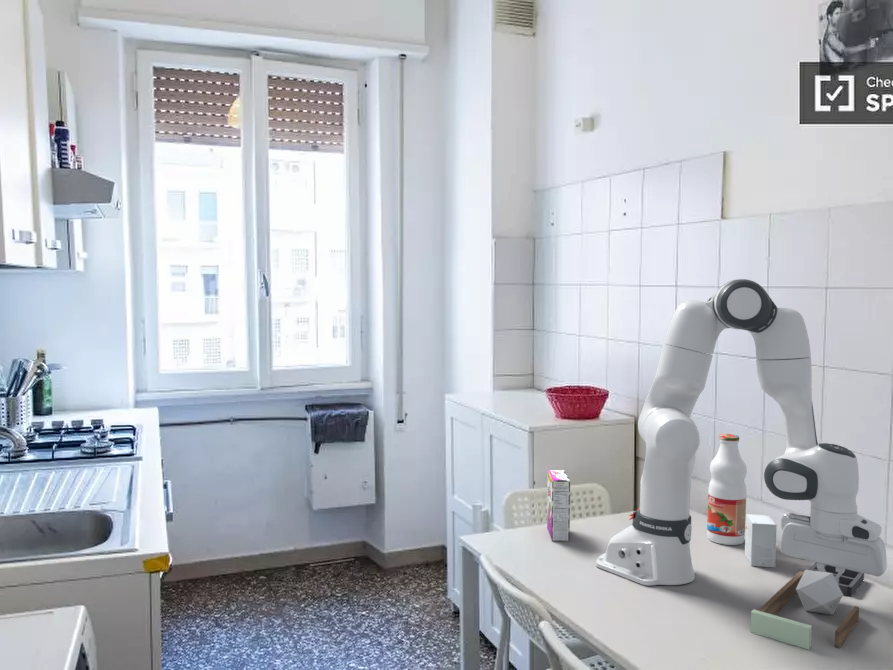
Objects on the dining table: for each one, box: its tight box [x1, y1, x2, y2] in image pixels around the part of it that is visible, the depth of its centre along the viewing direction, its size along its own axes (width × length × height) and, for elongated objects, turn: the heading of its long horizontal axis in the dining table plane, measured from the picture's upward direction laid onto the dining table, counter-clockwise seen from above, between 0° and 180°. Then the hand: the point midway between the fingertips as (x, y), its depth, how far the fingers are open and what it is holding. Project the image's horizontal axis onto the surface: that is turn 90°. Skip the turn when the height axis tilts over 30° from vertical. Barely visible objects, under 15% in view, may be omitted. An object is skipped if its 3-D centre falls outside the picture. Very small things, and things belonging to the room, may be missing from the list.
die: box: [796, 569, 844, 615], centre depth 154 cm, size 8×9×10 cm
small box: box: [744, 513, 777, 568], centre depth 182 cm, size 8×6×10 cm
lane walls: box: [757, 570, 860, 649], centre depth 152 cm, size 15×32×3 cm, turn 139°
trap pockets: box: [808, 562, 865, 598], centre depth 169 cm, size 10×12×2 cm
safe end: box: [749, 609, 813, 650], centre depth 141 cm, size 10×2×4 cm, turn 49°
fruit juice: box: [706, 433, 747, 546], centre depth 197 cm, size 9×9×28 cm
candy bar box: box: [546, 469, 571, 542], centre depth 199 cm, size 11×5×16 cm, turn 179°
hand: (830, 584), depth 160 cm, fingers closed
